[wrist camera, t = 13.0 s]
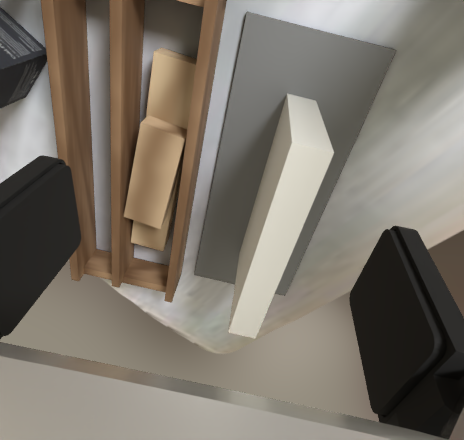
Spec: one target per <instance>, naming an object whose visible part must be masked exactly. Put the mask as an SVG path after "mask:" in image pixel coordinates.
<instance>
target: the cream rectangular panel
mask: <svg viewBox="0 0 464 440" xmlns="http://www.w3.org/2000/svg"><path fill="white" fill-rule="evenodd" d="M333 154H334V151H333V148H332V145H331V142H330V139H329V136H328V134H327V131H326V128H325V125H324V122H323V119H322V116H321V114H320V111H319V108H318V105H317V102H316V101H315V100H311V99H307V98H303V97H299V96H295V95H291V94H287V96H286V99H285V103H284V106H283V109H282V113H281V116H280V119H279V123H278V126H277V129H276V133H275V136H274V139H273V143H272V146H271V150H270V153H269V156H268V160H267V163H266V166H265V170H264V173H263V176H262V180H261V183H260V186H259V190H258V193H257V196H256V200H255V203H254V206H253V210H252V213H251V217H250V220H249V223H248V227H247V230H246V233H245V237H244V240H243V243H242V247H241V250H240V253H239V260H238V267H237V275H236V282H235V289H234V296H233V303H232V310H231V317H230V324H229V331H228V333H232V334H237V335H241V336H246V337H250V338H254V339H256V336H257V334H258V332H259V329H260V327H261V325H262V322H263V320H264V317H265V315H266V313H267V310H268V308H269V306H270V303H271V301H272V299H273V296H274V294H275V291H276V289H277V287H278V284H279V282H280V280H281V277H282V275H283V273H284V270H285V268H286V265H287V263H288V261H289V258H290V256H291V254H292V251H293V249H294V247H295V244H296V242H297V239H298V237H299V235H300V232H301V230H302V228H303V225H304V223H305V221H306V218H307V216H308V213H309V211H310V209H311V206H312V204H313V202H314V199H315V197H316V195H317V192H318V190H319V187H320V185H321V183H322V180H323V178H324V176H325V173H326V171H327V169H328V166H329V164H330V161H331V159H332V157H333Z"/></svg>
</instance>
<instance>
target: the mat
mask: <svg viewBox="0 0 464 440" xmlns="http://www.w3.org/2000/svg"><path fill="white" fill-rule="evenodd" d="M395 52H396V50H394V49H390V48H386V47H382V46H379V45H375V44H371V43H367V42H363V41H359V40H355V39H351V38H347V37H344V36H340V35H336V34H332V33H328V32H324V31H320V30H316V29H312V28H308V27H305V26H301V25H297V24H293V23H289V22H285V21H281V20H277V19H273V18H269V17H266V16H262V15H258V14H254V13H250V12H247V14H246V19H245V24H244V29H243V34H242V39H241V44H240V49H239V54H238V59H237V64H236V69H235V74H234V79H233V84H232V89H231V94H230V99H229V104H228V109H227V114H226V119H225V124H224V129H223V134H222V139H221V144H220V149H219V154H218V159H217V164H216V169H215V174H214V179H213V184H212V189H211V194H210V199H209V204H208V209H207V214H206V219H205V224H204V229H203V234H202V239H201V244H200V249H199V254H198V259H197V264H196V269H195V274H194V275H197V276H202V277H206V278H210V279H215V280H219V281H223V282H227V283H232V284H235V282H236V275H237V267H238V260H239V253H240V250H241V247H242V243H243V240H244V237H245V233H246V230H247V227H248V223H249V220H250V217H251V213H252V210H253V206H254V203H255V200H256V196H257V193H258V190H259V186H260V183H261V180H262V176H263V173H264V170H265V166H266V163H267V160H268V156H269V153H270V150H271V146H272V143H273V139H274V136H275V133H276V129H277V126H278V123H279V119H280V116H281V113H282V109H283V106H284V103H285V99H286V96H287V94H291V95H295V96H299V97H303V98H307V99H311V100H315V101H316V102H317V105H318V108H319V111H320V114H321V116H322V119H323V122H324V125H325V128H326V131H327V134H328V136H329V139H330V142H331V145H332V148H333V151H334V154H333V157H332V159H331V161H330V164H329V166H328V169H327V171H326V173H325V176H324V178H323V180H322V183H321V185H320V187H319V190H318V192H317V195H316V197H315V199H314V202H313V204H312V206H311V209H310V211H309V213H308V216H307V218H306V221H305V223H304V225H303V228H302V230H301V232H300V235H299V237H298V239H297V242H296V244H295V247H294V249H293V251H292V254H291V256H290V258H289V261H288V263H287V265H286V268H285V270H284V273H283V275H282V277H281V280H280V282H279V284H278V287H277V289H276V291H275V294H279V295H284V296H285V295H286V293H287V290H288V288H289V286H290V284H291V282H292V279H293V277H294V275H295V273H296V271H297V268H298V266H299V264H300V262H301V260H302V257H303V255H304V253H305V251H306V249H307V246H308V244H309V242H310V240H311V238H312V235H313V233H314V231H315V229H316V227H317V224H318V222H319V220H320V218H321V215H322V213H323V211H324V209H325V207H326V204H327V202H328V200H329V198H330V196H331V193H332V191H333V189H334V187H335V185H336V182H337V180H338V178H339V176H340V174H341V171H342V169H343V167H344V165H345V163H346V160H347V158H348V156H349V154H350V152H351V149H352V147H353V145H354V143H355V140H356V138H357V136H358V134H359V132H360V129H361V127H362V125H363V123H364V121H365V118H366V116H367V114H368V112H369V110H370V107H371V105H372V103H373V101H374V99H375V96H376V94H377V92H378V90H379V88H380V85H381V83H382V81H383V79H384V76H385V74H386V72H387V70H388V68H389V65H390V63H391V61H392V59H393V57H394V54H395Z"/></svg>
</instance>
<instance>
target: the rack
mask: <svg viewBox="0 0 464 440" xmlns="http://www.w3.org/2000/svg"><path fill="white" fill-rule="evenodd" d="M177 1H181V2H185V3H189V4H193V5H197V6H200V7H204V10H203V17H202V25H201V32H200V40H199V47H198V55H197V62H196V70H195V77H194V85H193V92H192V99H191V107H190V114H189V122H188V129H187V137H186V144H185V152H184V159H183V167H182V174H181V182H180V189H179V197H178V204H177V211H176V219H175V226H174V234H173V241H172V249H171V256H170V264H169V266H167V265H163V264H158V263H154V262H150V261H145V260H141V259H137V258H133V256H134V243H131V236H132V228H133V220H132V219H129V218H126V217H124V212H125V207H126V201H127V196H128V190H129V185H130V179H131V174H132V168H133V163H134V157H135V151H136V146H137V140H138V135H139V122H140V99H141V77H142V54H143V32H144V10H145V0H110V121H111V244H112V253H111V252H107V251H102V250H98V249H96V228H95V205H94V183H93V160H92V137H91V114H90V92H89V69H88V46H87V23H86V0H41V7H42V16H43V25H44V34H45V43H46V52H47V61H48V70H49V79H50V88H51V97H52V106H53V115H54V124H55V133H56V142H57V152H58V159H62V160H64V162H65V163H66V165H68V166H69V167H70V168H71V172H72V179H73V185H74V192H75V198H76V204H77V211H78V217H79V224H80V230H81V242H80V245H79V247H78V248H77V249H76V251H75V252H74V253H73V254H72V256H71V257H70V258H69V260H70V269H71V277H72V280H76V281H79V280H80V279H81V277H82V276H83V274H88V275H92V276H97V277H101V278H105V279H110V280H112V286H114V287H120V285H121V283H122V282H123V283H127V284H131V285H136V286H140V287H144V288H149V289H153V290H158V291H162V292H166V294H165V301H167V302H172V300H173V297H174V294H175V291H176V288H177V285H178V282H179V279H180V276H181V272H182V266H183V260H184V254H185V248H186V242H187V236H188V230H189V224H190V218H191V212H192V206H193V200H194V194H195V188H196V182H197V176H198V170H199V164H200V158H201V152H202V146H203V140H204V134H205V128H206V121H207V115H208V109H209V103H210V97H211V91H212V85H213V79H214V73H215V67H216V61H217V55H218V49H219V43H220V37H221V31H222V25H223V19H224V13H225V7H226V1H227V0H177Z"/></svg>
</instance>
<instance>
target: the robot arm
mask: <svg viewBox="0 0 464 440" xmlns="http://www.w3.org/2000/svg"><path fill="white" fill-rule="evenodd" d="M80 242H81V230H80V224H79V217H78V211H77V204H76V198H75V192H74V185H73V179H72V172H71V168H70V167H69V166H68V165H66V163H65V162H64V160H62V159H58V158H53V157H48V156H39V157H37V158H36V159H35V160H33V161H32V162H30V163H29V164H27V165H26V166H25V167H23V168H22V169H20V170H19V171H18V172H16V173H15V174H13V175H12V176H10V177H9V178H8V179H6V180H5V181H3V182H2V183H0V339H1V337H3V336H6V335H9V334H10V333H11V332H12V331H13V329H14V328H15V327H16V326H17V325H18V323H19V322H20V321H21V319H22V318H23V317H24V316H25V314H26V313H27V312H28V310H29V309H30V308H31V307H32V305H33V304H34V303H35V302H36V300H37V299H38V298H39V297H40V295H41V294H42V293H43V291H44V290H45V289H46V288H47V286H48V285H49V284H50V283H51V281H52V280H53V279H54V277H55V276H56V275H57V274H58V272H59V271H60V270H61V268H62V267H63V266H64V265H65V263H66V262H67V261H68V260H69V258H70V257H71V256H72V254H73V253H74V252H75V251H76V249H77V248H78V247H79V245H80ZM350 306H351V311H352V316H353V321H354V326H355V331H356V336H357V341H358V345H359V351H360V355H361V360H362V365H363V370H364V375H365V379H366V385H367V390H368V395H369V400H370V405H371V408H372V410H373V412H374V413H376V414H378V418H379V422H376V421H371V420H367V419H363V418H358V417H354V416H350V415H345V414H341V413H336V412H332V411H327V410H322V409H318V408H312V407H308V406H304V405H299V404H294V403H290V402H285V401H280V400H276V399H271V398H266V397H261V396H257V395H252V394H248V393H243V392H238V391H233V390H229V389H224V388H219V387H214V386H210V385H205V384H200V383H196V382H191V381H186V380H181V379H176V378H171V377H167V376H162V375H157V374H152V373H148V372H143V371H138V370H133V369H128V368H124V367H118V366H114V365H109V364H105V363H99V362H95V361H90V360H85V359H80V358H75V357H70V356H65V355H61V354H56V353H51V352H46V351H40V350H36V349H31V348H26V347H21V346H16V345H12V344H7V343H2V342H0V440H464V318H463V316H462V314H461V312H460V310H459V308H458V306H457V305H456V303H455V301H454V299H453V297H452V295H451V293H450V291H449V290H448V288H447V286H446V284H445V282H444V280H443V278H442V277H441V275H440V273H439V271H438V269H437V267H436V265H435V263H434V262H433V260H432V258H431V256H430V254H429V252H428V250H427V249H426V247H425V245H424V243H423V241H422V239H421V237H420V235H419V234H418V232H417V231H416V230H414V229H409V228H404V227H399V226H393V227H392V228H391V229H390V230H388V229H387V230H385V231H384V232H383V233H382V235H381V237H380V239H379V241H378V243H377V244H376V246H375V248H374V250H373V252H372V254H371V255H370V257H369V259H368V261H367V263H366V265H365V266H364V268H363V270H362V272H361V274H360V276H359V278H358V279H357V281H356V283H355V285H354V287H353V289H352V291H351V293H350Z"/></svg>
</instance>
